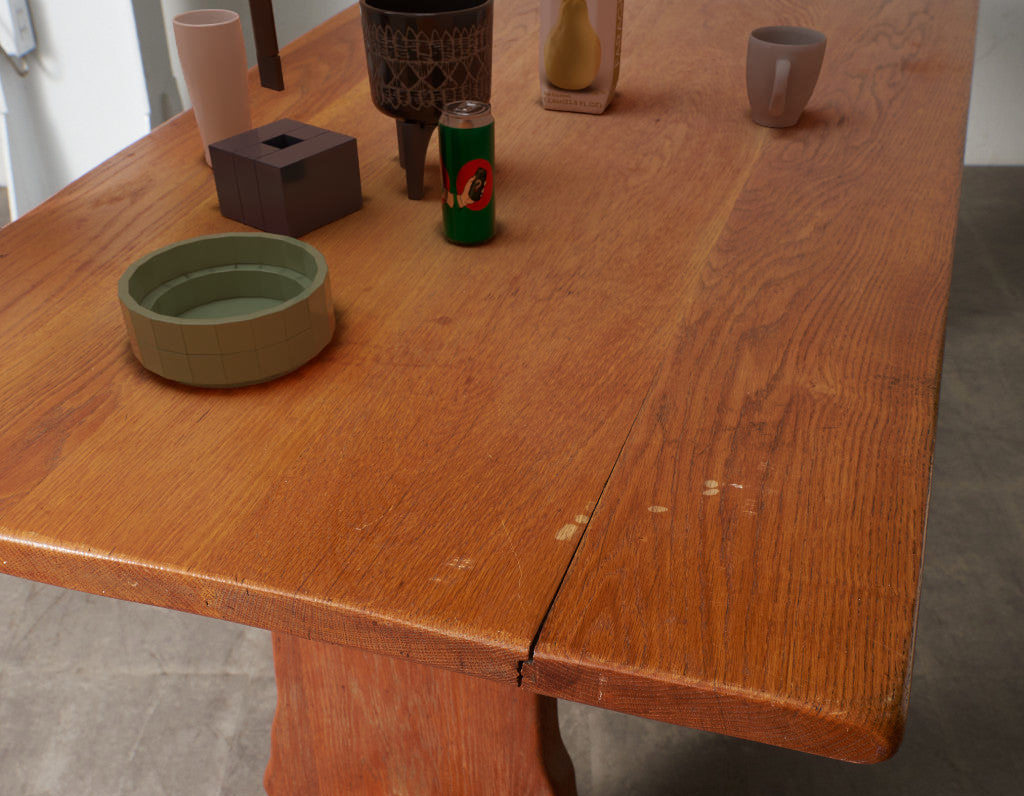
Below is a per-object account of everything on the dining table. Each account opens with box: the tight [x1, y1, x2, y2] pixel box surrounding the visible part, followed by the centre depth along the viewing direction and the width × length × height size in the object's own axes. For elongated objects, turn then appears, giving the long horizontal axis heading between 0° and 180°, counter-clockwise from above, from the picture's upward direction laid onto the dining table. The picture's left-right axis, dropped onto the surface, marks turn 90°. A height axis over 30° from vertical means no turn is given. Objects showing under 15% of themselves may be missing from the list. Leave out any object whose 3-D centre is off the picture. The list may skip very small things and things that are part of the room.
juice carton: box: [538, 0, 625, 115], centre depth 119 cm, size 9×8×24 cm
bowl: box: [117, 231, 337, 389], centre depth 79 cm, size 16×16×6 cm
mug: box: [745, 25, 828, 128], centre depth 118 cm, size 12×9×10 cm
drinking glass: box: [172, 8, 253, 169], centre depth 107 cm, size 7×7×15 cm
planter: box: [358, 0, 495, 201], centre depth 102 cm, size 13×13×18 cm
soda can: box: [437, 101, 497, 247], centre depth 93 cm, size 5×5×12 cm
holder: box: [208, 117, 364, 239], centre depth 99 cm, size 10×10×7 cm
